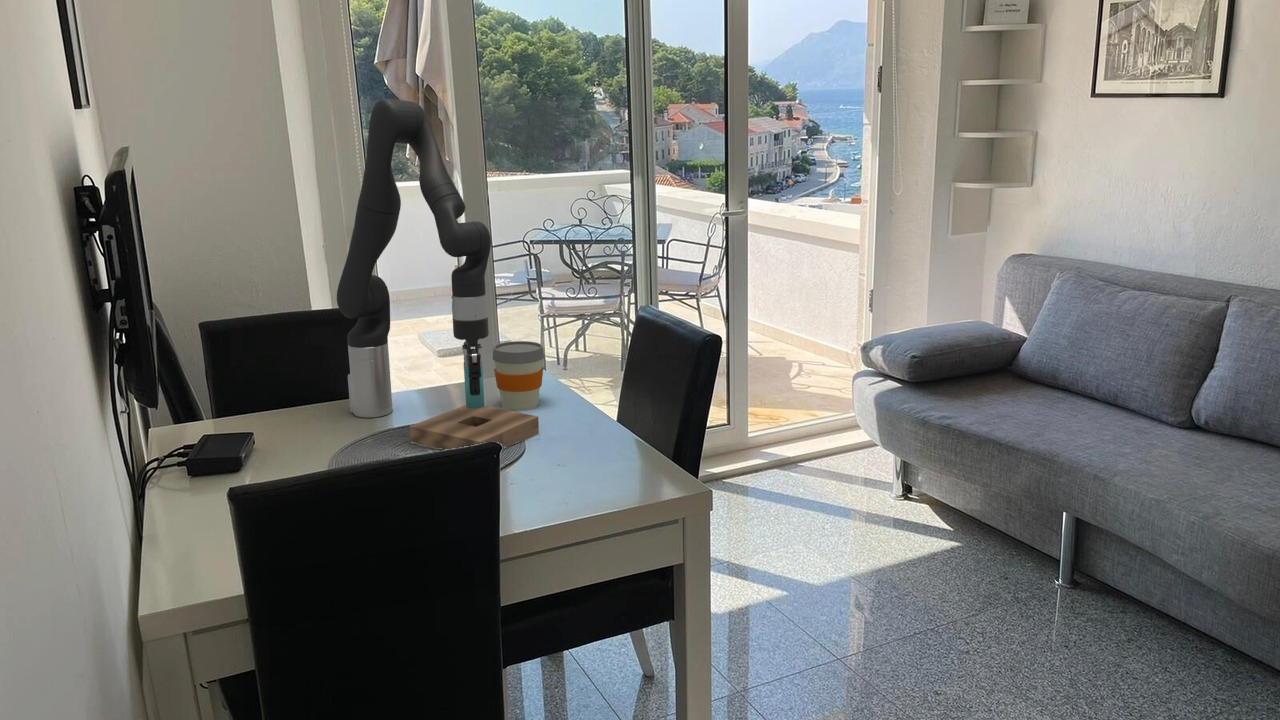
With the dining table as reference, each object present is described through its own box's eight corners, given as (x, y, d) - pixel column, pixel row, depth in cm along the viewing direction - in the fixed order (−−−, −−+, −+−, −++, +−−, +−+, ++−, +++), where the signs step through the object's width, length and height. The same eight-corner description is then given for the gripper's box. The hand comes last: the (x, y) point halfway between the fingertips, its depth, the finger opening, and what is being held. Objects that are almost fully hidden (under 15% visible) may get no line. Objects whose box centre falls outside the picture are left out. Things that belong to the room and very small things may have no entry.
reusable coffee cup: (525, 395, 238) (524, 338, 235) (555, 405, 230) (554, 347, 226) (484, 404, 230) (482, 346, 227) (513, 416, 221) (511, 355, 218)
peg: (462, 406, 203) (459, 362, 201) (474, 402, 206) (471, 359, 204) (476, 409, 201) (473, 365, 199) (488, 404, 204) (485, 361, 202)
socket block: (410, 443, 202) (409, 426, 201) (470, 419, 219) (470, 403, 218) (481, 460, 192) (480, 441, 191) (538, 433, 209) (538, 416, 208)
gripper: (490, 321, 193) (494, 399, 197) (484, 308, 206) (488, 382, 211) (454, 323, 191) (459, 402, 195) (450, 310, 205) (455, 385, 209)
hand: (474, 391), depth 203 cm, fingers closed on peg, 4 cm apart
